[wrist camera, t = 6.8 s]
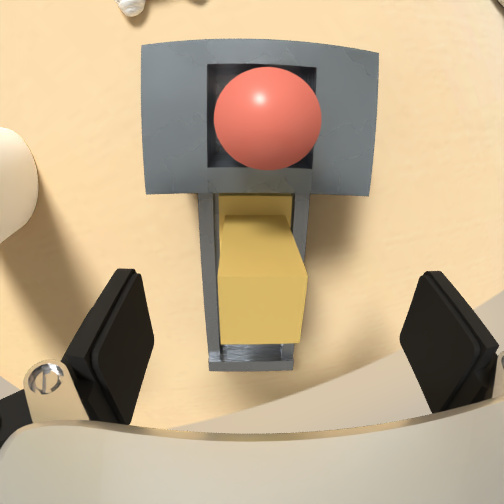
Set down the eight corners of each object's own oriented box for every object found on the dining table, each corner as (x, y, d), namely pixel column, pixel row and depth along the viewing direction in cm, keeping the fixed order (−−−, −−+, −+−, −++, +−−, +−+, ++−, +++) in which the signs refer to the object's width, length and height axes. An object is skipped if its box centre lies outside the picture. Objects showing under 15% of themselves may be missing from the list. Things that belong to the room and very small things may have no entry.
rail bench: (331, 68, 16) (378, 53, 10) (306, 342, 25) (322, 411, 19) (176, 65, 16) (141, 45, 10) (193, 343, 25) (182, 413, 18)
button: (294, 82, 12) (323, 70, 8) (293, 149, 13) (318, 172, 9) (223, 80, 12) (214, 66, 8) (222, 148, 13) (214, 170, 9)
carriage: (286, 185, 18) (319, 248, 10) (281, 265, 20) (303, 360, 12) (221, 185, 17) (207, 248, 10) (222, 265, 20) (214, 362, 12)
